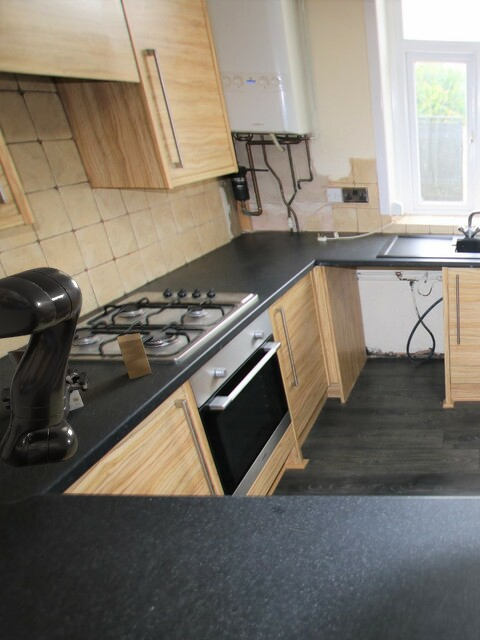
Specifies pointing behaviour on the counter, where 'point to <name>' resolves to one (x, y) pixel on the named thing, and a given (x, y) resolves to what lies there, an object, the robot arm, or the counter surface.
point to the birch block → (134, 355)
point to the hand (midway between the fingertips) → (49, 376)
